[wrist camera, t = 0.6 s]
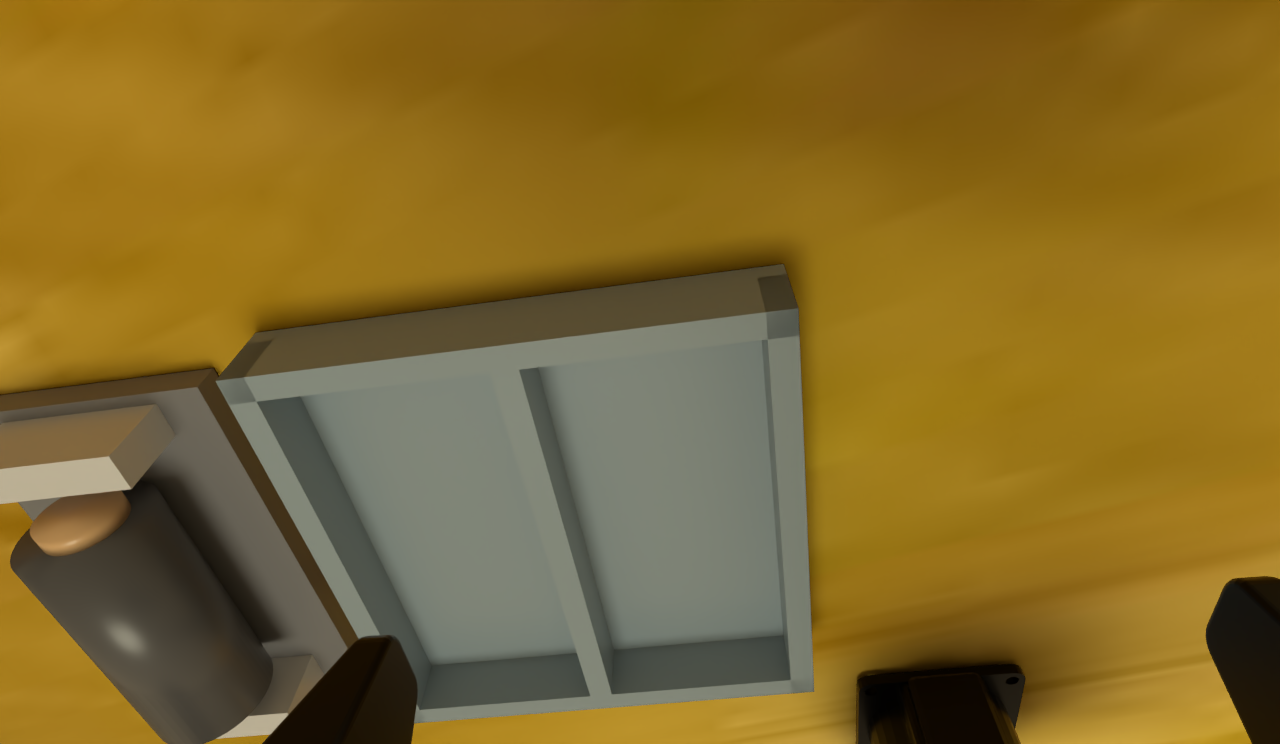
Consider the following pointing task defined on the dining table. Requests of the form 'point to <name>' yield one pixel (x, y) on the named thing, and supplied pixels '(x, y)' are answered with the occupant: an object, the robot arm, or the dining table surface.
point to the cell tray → (554, 489)
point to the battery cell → (146, 610)
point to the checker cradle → (186, 505)
